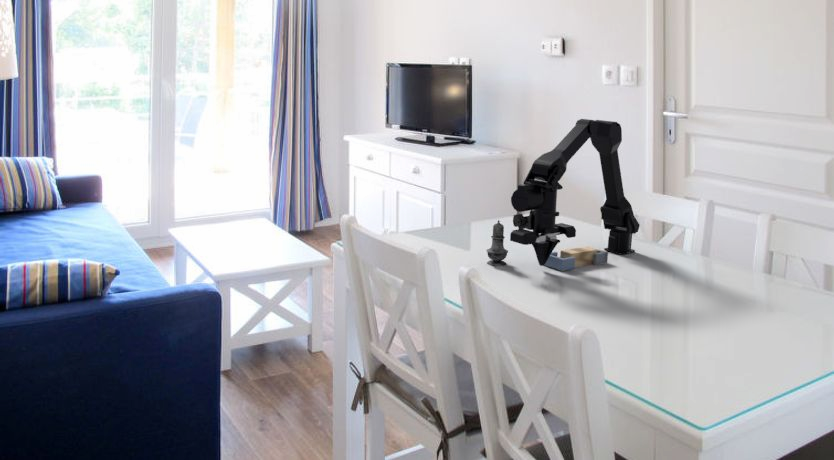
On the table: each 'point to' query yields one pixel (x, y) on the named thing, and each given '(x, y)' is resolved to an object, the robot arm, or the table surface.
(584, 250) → the slat
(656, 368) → the table surface
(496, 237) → the salt shaker
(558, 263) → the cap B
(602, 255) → the grey u channel
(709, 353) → the table surface
